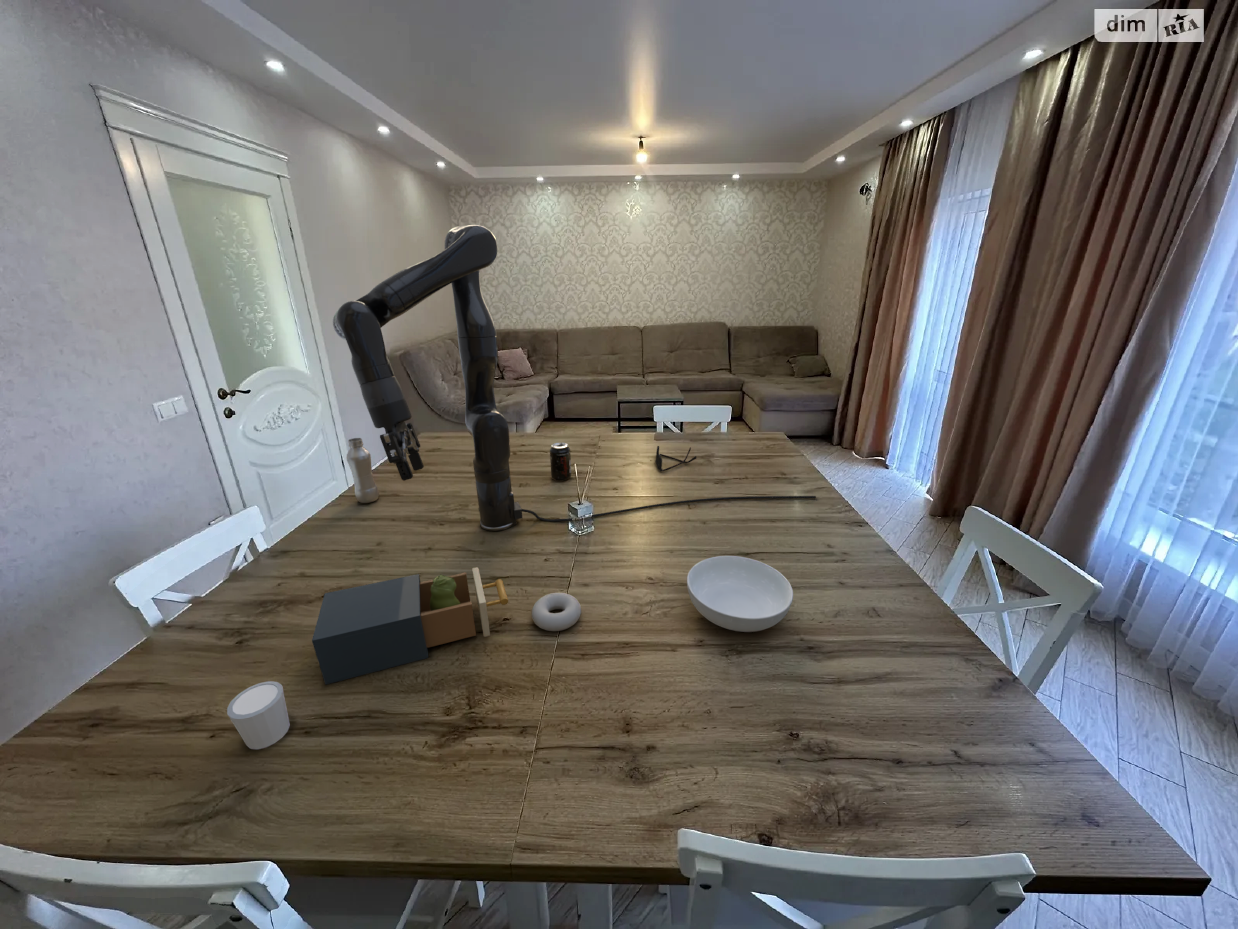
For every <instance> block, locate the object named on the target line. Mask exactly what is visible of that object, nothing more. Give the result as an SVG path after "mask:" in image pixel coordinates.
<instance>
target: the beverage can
mask: <svg viewBox="0 0 1238 929" xmlns="http://www.w3.org/2000/svg"><path fill="white" fill-rule="evenodd" d="M571 456H572V454H571V448H570V446H569V443H567V442H555V443H552V444H551V448H550V449H549V462H550V476H551V478H552V480H555V481H557V482H566V481H567V480H569V479H570V478H572V459H571Z"/></svg>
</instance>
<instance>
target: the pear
mask: <svg viewBox="0 0 1238 929" xmlns="http://www.w3.org/2000/svg"><path fill="white" fill-rule="evenodd" d="M448 576H449V575H444V574H439V575H437V576H435V577H434V578H433V579H432V580H433V585H431V594H432V596H431V599H430V610H431V611H434V610H438V609H442V608H446V607H451V606H455V605H459V604H460V602H459V600H458V599H457V598H456V597H455V595H454V591H455V589H456V583H455V580H454V578H451V577H448Z"/></svg>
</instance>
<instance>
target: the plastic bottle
mask: <svg viewBox="0 0 1238 929" xmlns="http://www.w3.org/2000/svg"><path fill="white" fill-rule="evenodd" d="M347 443H348V447H349V450H348V451H347V453H346V457H345V459H346V461H347V464H348V466H349V469H350V472H351V475H352V478H353V484H354V485H353V486H354V497H355V499H356V501H358V502H359V503H361V504H368V503H373V502H375V501H377V500H378V498H379V496H380V491H379V488H378V485H377V484H376V481H375V478H374V474H373V468H372V456H371V453H370V451H369V450H368V449H367V448H365V447H364V442H363V439H362V438H361V437H354V438H350V439H348V440H347Z"/></svg>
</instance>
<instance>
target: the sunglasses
mask: <svg viewBox="0 0 1238 929" xmlns="http://www.w3.org/2000/svg"><path fill="white" fill-rule="evenodd" d="M691 449H692V448H691V447H689V449H688V450H687V454H686V456H685V458H684V459H683V460H682V459H680V458H679V459H678V458H676V457H673V456H669V455H666V454H662V453H660V445H657V447H656V452H655V453H656V454H655V462H654V463H655V465H656V468H657V469H658V471H659V472H666V471H669V470H671V469H673V468H676V467H678V466H680V465H682V464H689V463H691V462H693V461H695V460H696V459H697V455H695V456H694V457H692V458H691V459H689V460H688V461H687V459H688V457H689V455H690V452H691ZM662 457H664V458H668V459H671V460H674V461H677V462H679V463H677V464H674V465H671V466H668V467H666V468H664V469H663V468H662V467H663V458H662Z"/></svg>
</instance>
